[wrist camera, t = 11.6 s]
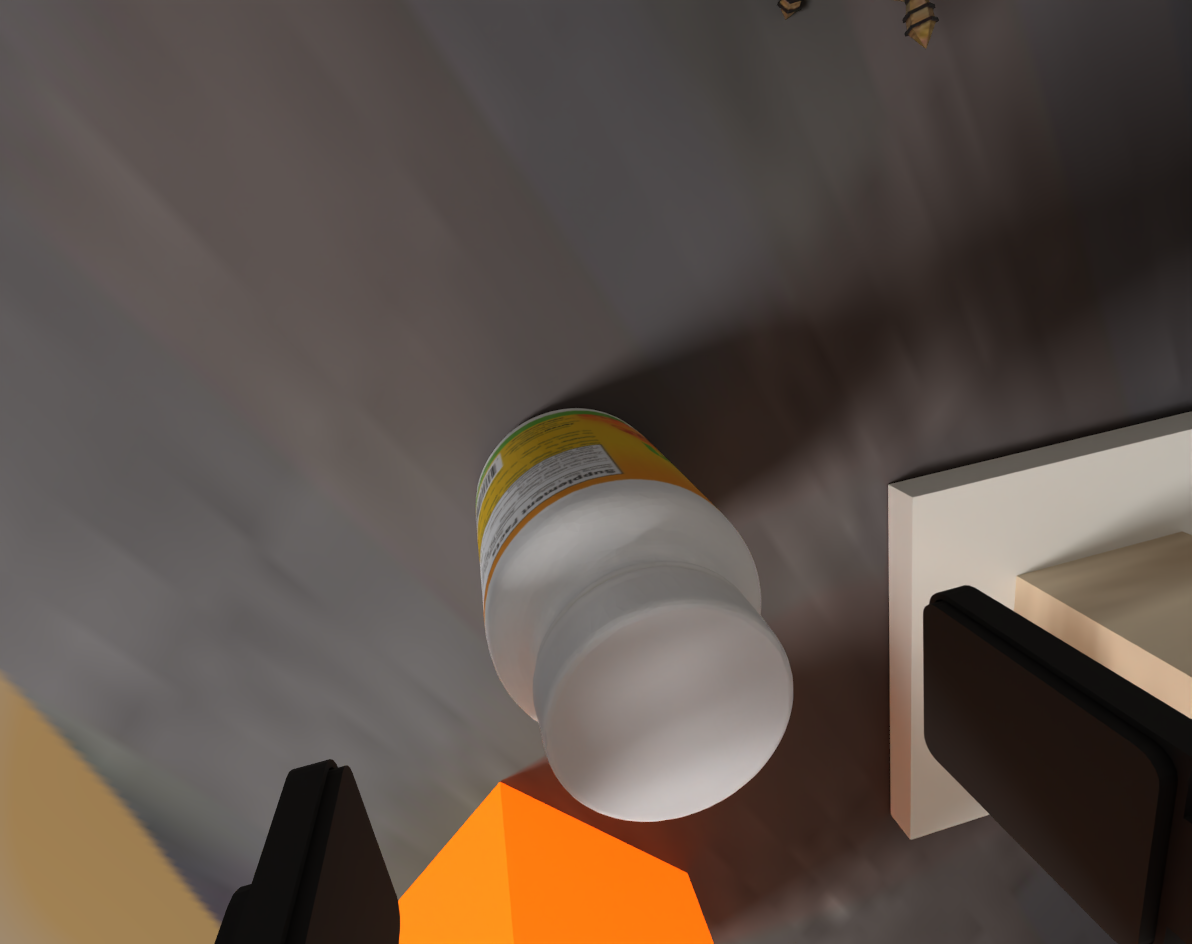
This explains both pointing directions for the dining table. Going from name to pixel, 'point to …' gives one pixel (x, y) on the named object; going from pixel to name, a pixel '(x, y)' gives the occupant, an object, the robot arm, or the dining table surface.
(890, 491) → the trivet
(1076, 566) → the beech block
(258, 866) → the robot arm
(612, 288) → the dining table surface
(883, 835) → the dining table surface
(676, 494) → the supplement bottle
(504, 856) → the orange juice
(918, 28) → the game die
